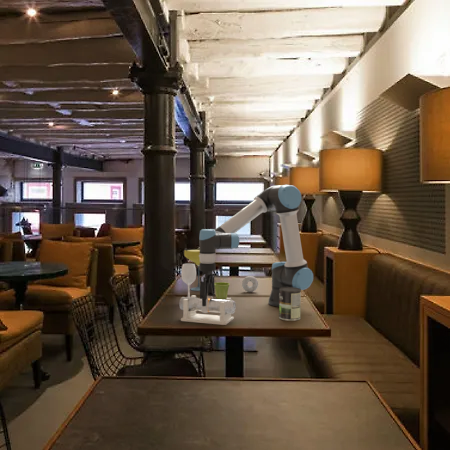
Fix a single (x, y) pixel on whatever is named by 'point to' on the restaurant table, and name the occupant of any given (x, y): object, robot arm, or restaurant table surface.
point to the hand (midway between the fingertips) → (207, 311)
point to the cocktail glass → (194, 256)
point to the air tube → (209, 305)
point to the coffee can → (289, 303)
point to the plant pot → (221, 290)
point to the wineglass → (188, 275)
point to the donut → (247, 279)
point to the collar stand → (204, 318)
